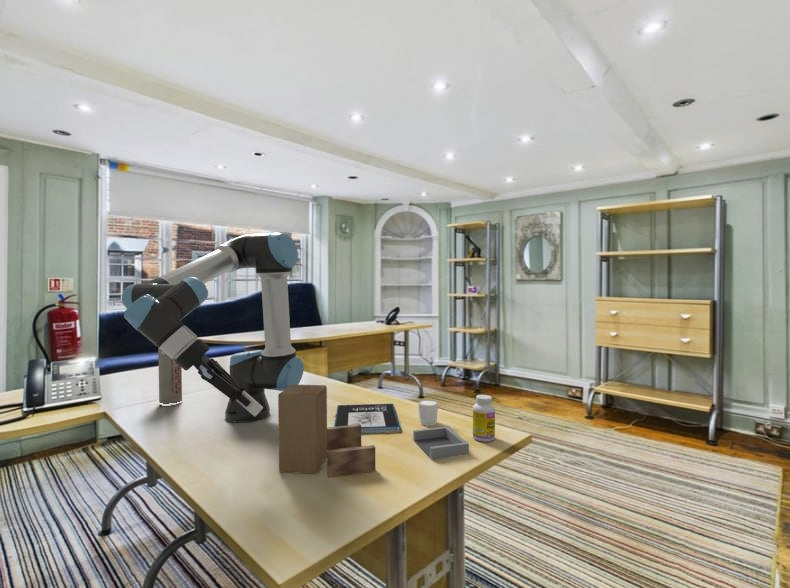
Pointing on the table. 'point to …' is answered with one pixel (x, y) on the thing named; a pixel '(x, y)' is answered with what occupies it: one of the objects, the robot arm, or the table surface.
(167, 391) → the thermos bottle
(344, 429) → the parallel wooden walls
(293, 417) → the wooden block
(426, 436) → the grey shallow rectangular tray
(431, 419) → the white cup
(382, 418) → the sketchbook
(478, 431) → the supplement bottle
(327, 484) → the table surface
